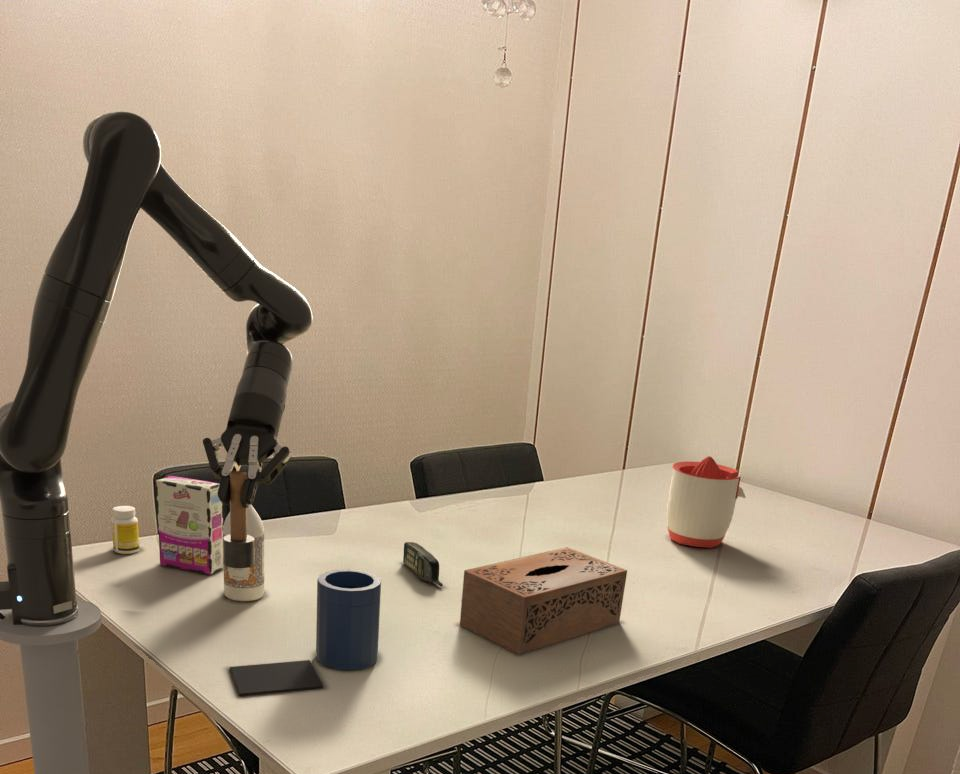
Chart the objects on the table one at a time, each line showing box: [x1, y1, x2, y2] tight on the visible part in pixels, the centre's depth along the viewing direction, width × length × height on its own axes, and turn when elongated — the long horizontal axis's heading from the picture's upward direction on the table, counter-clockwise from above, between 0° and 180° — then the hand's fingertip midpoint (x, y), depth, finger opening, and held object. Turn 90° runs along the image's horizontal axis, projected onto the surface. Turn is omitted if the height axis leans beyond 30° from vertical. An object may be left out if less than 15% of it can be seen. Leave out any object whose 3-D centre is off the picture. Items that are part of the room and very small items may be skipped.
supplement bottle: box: [111, 505, 140, 555], centre depth 186 cm, size 5×5×8 cm
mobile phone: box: [402, 541, 444, 588], centre depth 188 cm, size 5×3×15 cm
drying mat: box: [229, 659, 324, 697], centre depth 142 cm, size 12×9×1 cm
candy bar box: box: [155, 475, 224, 576], centre depth 179 cm, size 11×5×16 cm, turn 73°
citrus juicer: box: [666, 456, 747, 549], centre depth 222 cm, size 16×17×20 cm
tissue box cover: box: [459, 546, 628, 655], centre depth 169 cm, size 26×14×10 cm, turn 133°
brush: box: [223, 470, 254, 568], centre depth 144 cm, size 5×5×14 cm
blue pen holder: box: [315, 568, 382, 672], centre depth 148 cm, size 9×9×13 cm
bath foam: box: [222, 504, 265, 602], centre depth 167 cm, size 7×7×20 cm
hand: (234, 503), depth 141 cm, fingers closed on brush, 2 cm apart
